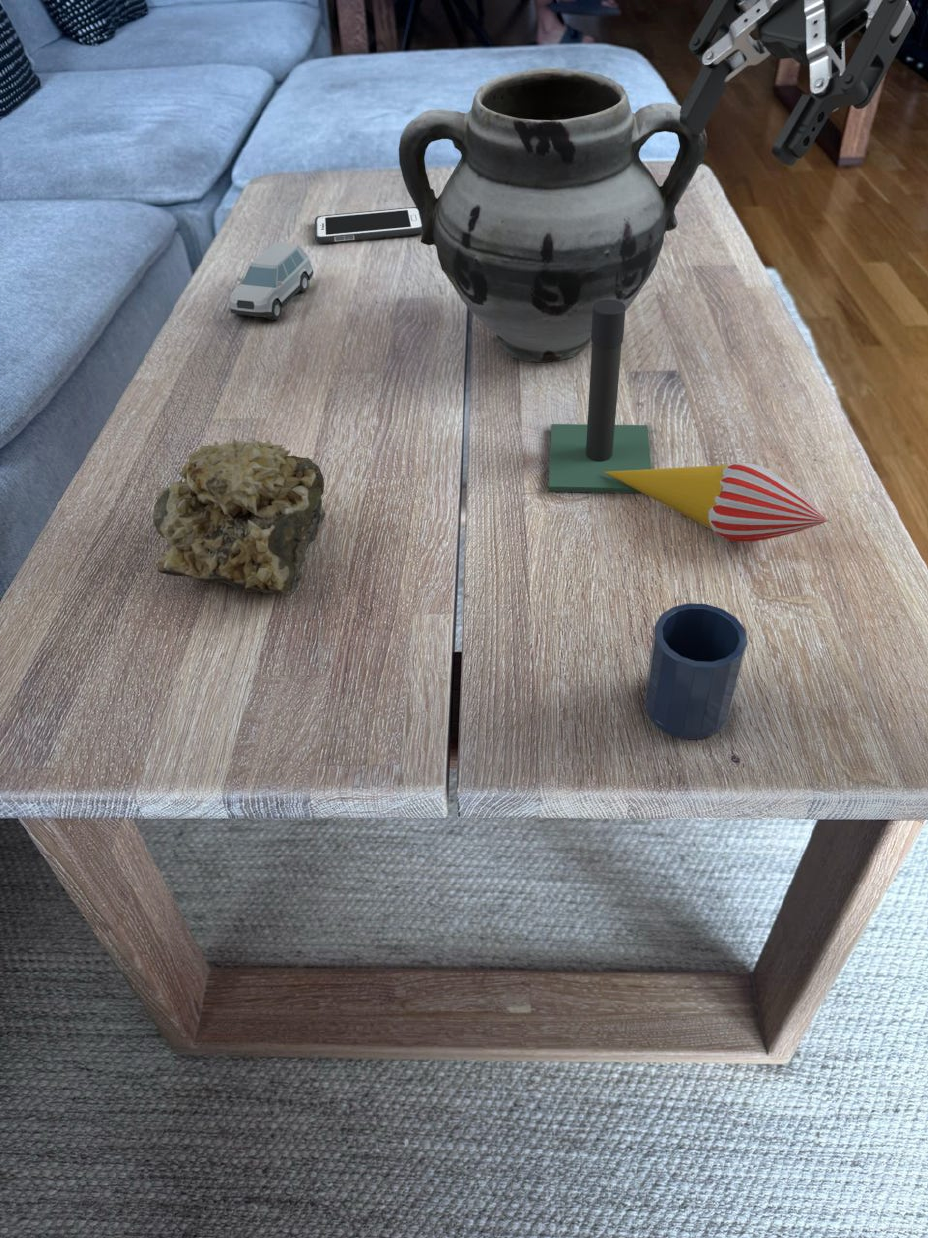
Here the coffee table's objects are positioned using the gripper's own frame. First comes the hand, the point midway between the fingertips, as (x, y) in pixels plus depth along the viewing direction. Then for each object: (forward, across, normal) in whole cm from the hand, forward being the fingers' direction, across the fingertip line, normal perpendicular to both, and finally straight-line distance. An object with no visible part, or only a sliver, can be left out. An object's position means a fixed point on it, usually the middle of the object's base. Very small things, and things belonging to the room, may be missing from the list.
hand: (732, 143), depth 63 cm
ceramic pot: (+19, -26, +20) cm, 38 cm away
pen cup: (+33, +20, 0) cm, 39 cm away
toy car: (+30, -54, +6) cm, 63 cm away
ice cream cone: (+24, +6, +13) cm, 28 cm away
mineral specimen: (+44, -13, -13) cm, 48 cm away
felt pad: (+24, -5, +12) cm, 28 cm away
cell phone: (+18, -66, +22) cm, 72 cm away
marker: (+24, -5, +12) cm, 27 cm away
